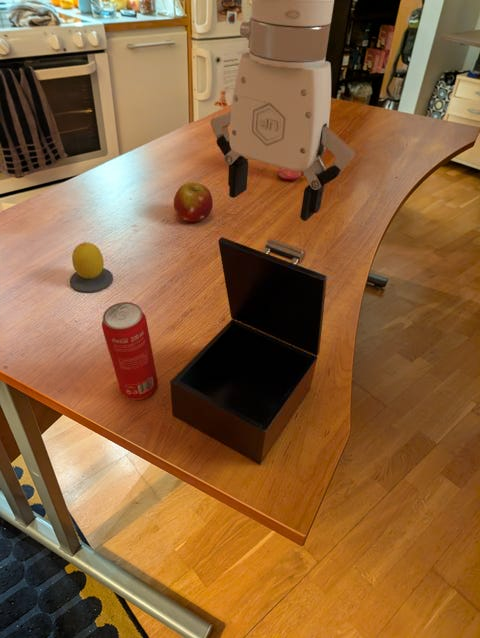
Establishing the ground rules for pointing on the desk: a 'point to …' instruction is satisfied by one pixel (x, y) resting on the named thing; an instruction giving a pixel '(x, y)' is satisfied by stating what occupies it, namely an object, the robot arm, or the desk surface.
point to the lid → (275, 292)
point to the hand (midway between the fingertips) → (272, 204)
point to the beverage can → (130, 349)
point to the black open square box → (243, 388)
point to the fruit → (193, 202)
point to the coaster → (91, 282)
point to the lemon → (87, 260)
